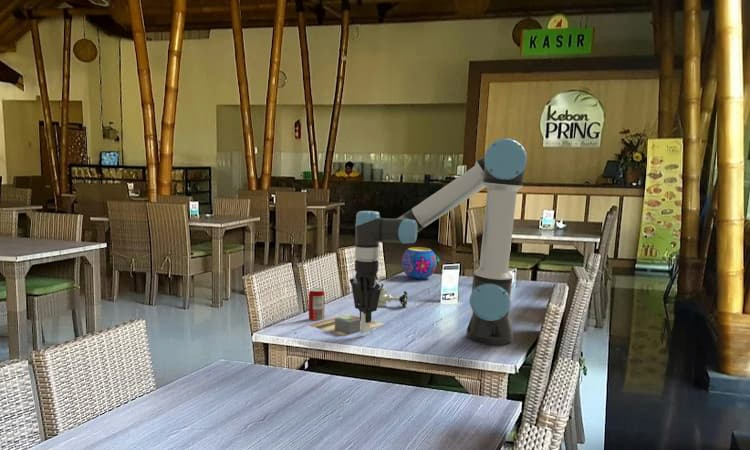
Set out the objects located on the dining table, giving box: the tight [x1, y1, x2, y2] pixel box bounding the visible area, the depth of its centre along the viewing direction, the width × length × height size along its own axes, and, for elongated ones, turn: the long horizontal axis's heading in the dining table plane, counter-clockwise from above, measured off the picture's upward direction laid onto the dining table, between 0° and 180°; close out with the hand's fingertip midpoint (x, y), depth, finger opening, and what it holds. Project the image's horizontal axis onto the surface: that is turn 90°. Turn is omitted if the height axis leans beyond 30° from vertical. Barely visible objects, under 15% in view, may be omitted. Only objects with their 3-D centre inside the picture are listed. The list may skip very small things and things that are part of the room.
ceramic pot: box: [401, 247, 440, 280], centre depth 286 cm, size 18×18×15 cm
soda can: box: [308, 287, 326, 322], centre depth 204 cm, size 6×6×12 cm
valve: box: [377, 288, 408, 308], centre depth 229 cm, size 7×7×12 cm
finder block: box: [334, 315, 361, 335], centre depth 190 cm, size 7×5×4 cm
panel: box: [307, 314, 386, 337], centre depth 197 cm, size 18×20×1 cm
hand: (365, 331), depth 184 cm, fingers closed
